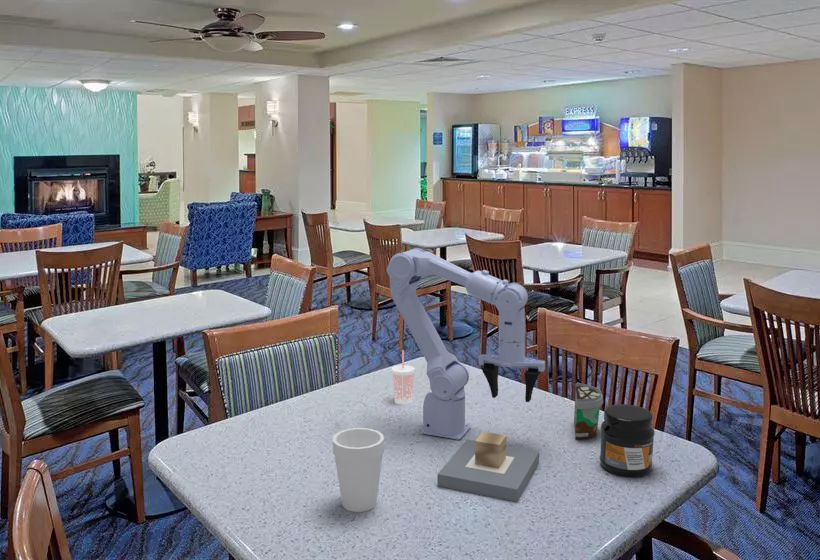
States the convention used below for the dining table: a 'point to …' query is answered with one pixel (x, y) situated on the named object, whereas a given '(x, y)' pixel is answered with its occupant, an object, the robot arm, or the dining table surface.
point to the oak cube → (490, 449)
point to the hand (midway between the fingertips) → (511, 398)
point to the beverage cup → (403, 382)
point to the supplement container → (627, 440)
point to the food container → (586, 411)
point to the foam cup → (358, 466)
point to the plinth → (489, 473)
